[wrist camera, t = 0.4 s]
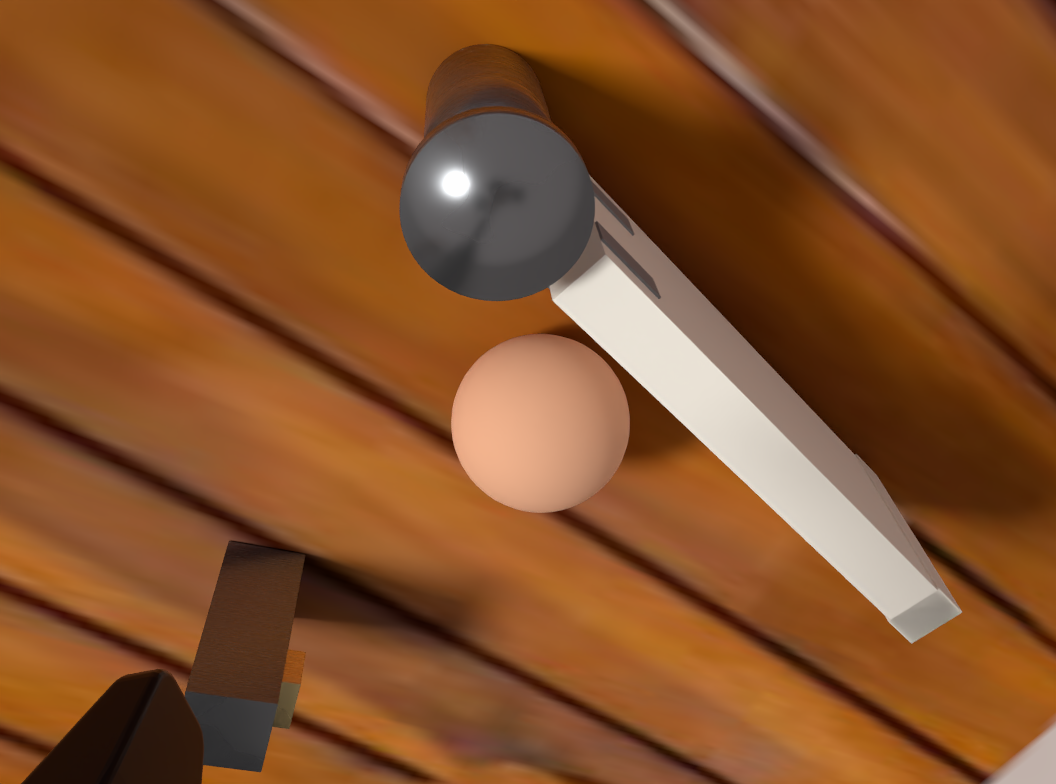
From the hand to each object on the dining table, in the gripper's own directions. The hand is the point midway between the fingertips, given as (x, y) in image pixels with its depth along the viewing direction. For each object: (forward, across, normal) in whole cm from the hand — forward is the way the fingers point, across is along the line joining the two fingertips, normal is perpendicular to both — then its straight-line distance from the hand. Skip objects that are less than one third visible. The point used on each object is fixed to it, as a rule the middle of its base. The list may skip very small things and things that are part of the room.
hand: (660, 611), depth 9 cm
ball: (+14, +1, +6) cm, 15 cm away
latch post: (+14, +10, +10) cm, 20 cm away
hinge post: (+14, +1, -1) cm, 14 cm away
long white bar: (+13, -3, +6) cm, 15 cm away
